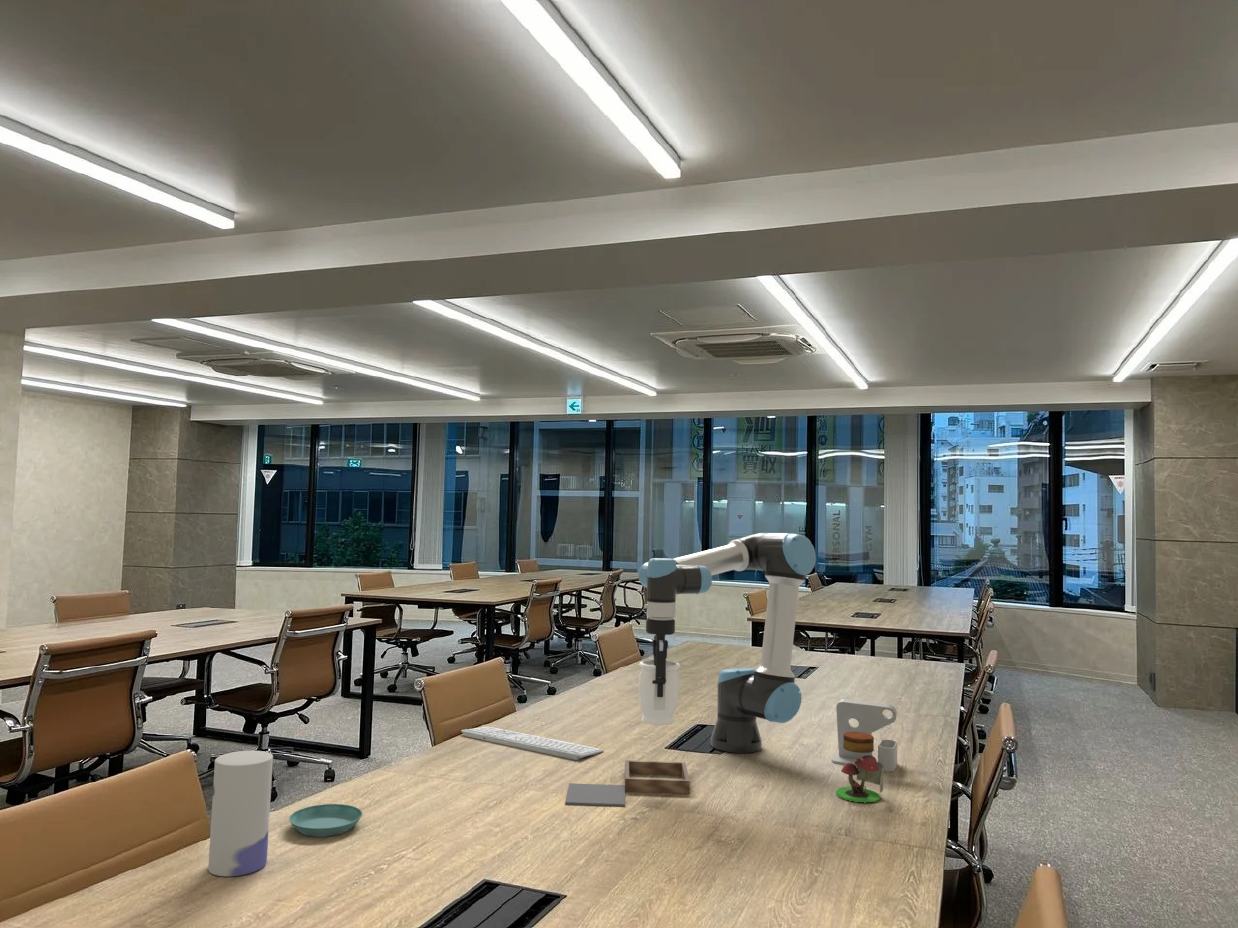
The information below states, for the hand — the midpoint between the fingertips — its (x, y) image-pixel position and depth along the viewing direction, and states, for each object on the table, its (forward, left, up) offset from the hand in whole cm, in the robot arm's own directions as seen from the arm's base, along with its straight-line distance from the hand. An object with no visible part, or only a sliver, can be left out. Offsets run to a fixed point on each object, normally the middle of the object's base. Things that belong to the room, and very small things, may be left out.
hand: (658, 704), depth 216 cm
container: (+81, +59, -20) cm, 102 cm away
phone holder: (-60, -24, -20) cm, 68 cm away
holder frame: (0, 0, -19) cm, 19 cm away
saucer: (+72, +38, -20) cm, 84 cm away
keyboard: (+36, -33, -20) cm, 53 cm away
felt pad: (+15, +12, -19) cm, 27 cm away
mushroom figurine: (-50, +6, -20) cm, 54 cm away
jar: (0, 0, -4) cm, 4 cm away
